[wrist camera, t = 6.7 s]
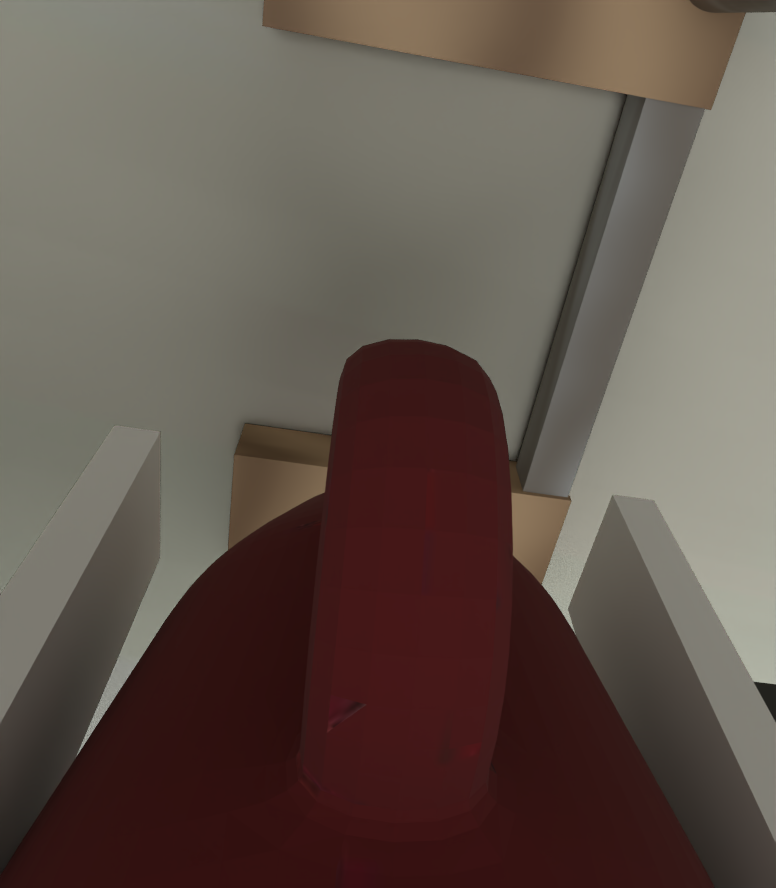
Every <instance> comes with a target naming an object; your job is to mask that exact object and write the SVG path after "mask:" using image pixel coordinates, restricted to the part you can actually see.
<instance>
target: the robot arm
mask: <svg viewBox="0 0 776 888" xmlns="http://www.w3.org/2000/svg"><path fill="white" fill-rule="evenodd" d="M160 471H161V431H154V430H146V429H139V428H132V427H125V426H118V425H114V426H113V428H112V429H111V431H110V432H109V434H108V435H107V437H106V438H105V440H104V441H103V443H102V444H101V446H100V447H99V449H98V450H97V452H96V453H95V455H94V456H93V458H92V459H91V461H90V462H89V464H88V465H87V467H86V468H85V470H84V471H83V473H82V474H81V476H80V477H79V478H78V480H77V481H76V483H75V484H74V486H73V487H72V489H71V490H70V492H69V493H68V495H67V496H66V498H65V499H64V501H63V502H62V504H61V505H60V507H59V508H58V510H57V511H56V513H55V514H54V516H53V517H52V519H51V520H50V522H49V523H48V525H47V526H46V528H45V529H44V531H43V532H42V534H41V535H40V537H39V538H38V540H37V541H36V542H35V544H34V545H33V547H32V548H31V550H30V551H29V553H28V554H27V556H26V557H25V559H24V560H23V562H22V563H21V565H20V566H19V568H18V569H17V571H16V572H15V574H14V575H13V577H12V578H11V580H10V581H9V583H8V584H7V586H6V587H5V589H4V590H3V592H2V593H1V594H0V875H1V873H2V872H3V870H4V868H5V867H6V865H7V864H8V862H9V860H10V859H11V857H12V856H13V854H14V852H15V851H16V849H17V848H18V846H19V844H20V843H21V841H22V840H23V838H24V837H25V835H26V834H27V832H28V831H29V829H30V828H31V826H32V824H33V823H34V821H35V820H36V818H37V817H38V815H39V814H40V812H41V811H42V809H43V808H44V806H45V805H46V803H47V801H48V800H49V798H50V797H51V795H52V794H53V792H54V791H55V789H56V788H57V786H58V785H59V783H60V781H61V780H62V778H63V777H64V775H65V774H66V772H67V771H68V769H69V768H70V766H71V765H72V763H73V762H74V760H75V758H76V756H77V753H78V751H79V748H80V746H81V744H82V741H83V739H84V737H85V734H86V732H87V729H88V727H89V725H90V722H91V720H92V718H93V715H94V713H95V711H96V708H97V706H98V703H99V701H100V699H101V696H102V694H103V692H104V689H105V687H106V684H107V682H108V680H109V677H110V675H111V673H112V670H113V668H114V666H115V663H116V661H117V658H118V656H119V654H120V651H121V649H122V647H123V644H124V642H125V640H126V637H127V635H128V632H129V630H130V628H131V625H132V623H133V621H134V618H135V616H136V613H137V611H138V609H139V606H140V604H141V602H142V599H143V597H144V595H145V592H146V590H147V587H148V585H149V583H150V580H151V578H152V576H153V573H154V571H155V568H156V566H157V564H158V561H159V559H160ZM568 611H569V614H570V617H571V620H572V624H573V627H574V630H575V634H576V637H577V639H578V640H579V642H580V644H581V646H582V648H583V649H584V651H585V653H586V655H587V657H588V658H589V660H590V662H591V664H592V666H593V668H594V669H595V671H596V673H597V675H598V677H599V678H600V680H601V682H602V684H603V686H604V687H605V689H606V691H607V693H608V695H609V696H610V698H611V700H612V702H613V704H614V705H615V707H616V709H617V711H618V713H619V714H620V716H621V718H622V720H623V722H624V723H625V725H626V727H627V729H628V731H629V732H630V734H631V736H632V738H633V740H634V741H635V743H636V745H637V747H638V749H639V750H640V752H641V754H642V756H643V758H644V759H645V761H646V763H647V765H648V767H649V768H650V770H651V772H652V774H653V776H654V778H655V779H656V781H657V783H658V785H659V787H660V788H661V790H662V792H663V794H664V796H665V797H666V799H667V801H668V803H669V805H670V806H671V808H672V810H673V812H674V814H675V815H676V817H677V819H678V821H679V823H680V824H681V826H682V828H683V830H684V832H685V833H686V835H687V837H688V839H689V841H690V842H691V844H692V846H693V848H694V850H695V851H696V853H697V855H698V857H699V859H700V860H701V862H702V864H703V866H704V868H705V870H706V872H707V874H708V875H709V877H710V879H711V881H712V883H713V885H714V887H715V888H776V684H767V683H759V682H753V680H752V678H751V676H750V675H749V673H748V671H747V669H746V667H745V666H744V664H743V662H742V660H741V658H740V656H739V655H738V653H737V651H736V649H735V647H734V645H733V644H732V642H731V640H730V638H729V636H728V635H727V633H726V631H725V629H724V627H723V625H722V624H721V622H720V620H719V618H718V616H717V614H716V613H715V611H714V609H713V607H712V605H711V604H710V602H709V600H708V598H707V596H706V594H705V593H704V591H703V589H702V587H701V585H700V583H699V582H698V580H697V578H696V576H695V574H694V573H693V571H692V569H691V567H690V565H689V563H688V562H687V560H686V558H685V556H684V554H683V552H682V551H681V549H680V547H679V545H678V543H677V542H676V540H675V538H674V536H673V534H672V532H671V531H670V529H669V527H668V525H667V523H666V521H665V520H664V518H663V516H662V514H661V512H660V510H659V509H658V507H657V505H656V503H655V501H654V500H648V499H640V498H633V497H626V496H619V495H612V498H611V500H610V503H609V505H608V508H607V510H606V513H605V515H604V518H603V521H602V523H601V526H600V528H599V531H598V533H597V536H596V538H595V541H594V544H593V546H592V549H591V551H590V554H589V556H588V559H587V562H586V564H585V567H584V569H583V572H582V574H581V577H580V579H579V582H578V585H577V587H576V590H575V592H574V595H573V597H572V600H571V602H570V605H569V608H568Z"/></svg>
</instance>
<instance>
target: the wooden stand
mask: <svg viewBox="0 0 776 888" xmlns="http://www.w3.org/2000/svg"><path fill="white" fill-rule="evenodd" d="M746 12H776V0H264V10H263V25H262V26H265V27H271V28H276V29H281V30H287V31H292V32H298V33H303V34H308V35H314V36H319V37H324V38H330V39H335V40H340V41H346V42H351V43H356V44H362V45H367V46H372V47H378V48H383V49H388V50H394V51H399V52H404V53H410V54H415V55H420V56H426V57H431V58H436V59H442V60H447V61H453V62H458V63H463V64H469V65H474V66H479V67H485V68H490V69H495V70H501V71H506V72H511V73H517V74H522V75H527V76H533V77H538V78H543V79H549V80H554V81H559V82H565V83H570V84H575V85H581V86H586V87H591V88H597V89H602V90H608V91H613V92H618V93H624V94H628V95H627V98H626V102H625V105H624V108H623V112H622V115H621V118H620V122H619V125H618V128H617V132H616V135H615V138H614V141H613V145H612V148H611V151H610V155H609V158H608V161H607V165H606V168H605V171H604V175H603V178H602V181H601V185H600V188H599V191H598V195H597V198H596V201H595V205H594V208H593V211H592V215H591V218H590V221H589V225H588V228H587V231H586V235H585V238H584V241H583V245H582V248H581V251H580V255H579V258H578V261H577V265H576V268H575V271H574V275H573V278H572V281H571V284H570V288H569V291H568V294H567V298H566V301H565V304H564V308H563V311H562V314H561V318H560V321H559V324H558V328H557V331H556V334H555V338H554V341H553V344H552V348H551V351H550V354H549V358H548V361H547V364H546V368H545V371H544V374H543V378H542V381H541V384H540V388H539V391H538V394H537V398H536V401H535V404H534V408H533V411H532V414H531V417H530V421H529V424H528V427H527V431H526V434H525V437H524V441H523V444H522V447H521V451H520V454H519V457H518V461H517V462H515V461H509V468H510V480H511V492H512V527H513V556H514V557H515V558H516V559H517V560H518V561H519V562H520V563H521V564H522V565H523V566H524V567H526V568H527V569H528V570H529V571H530V572H531V573H532V574H533V576H534V577H535V578H536V579H537V580H538V581H539V583H540V584H542V582H543V579H544V576H545V573H546V570H547V568H548V565H549V562H550V559H551V556H552V554H553V551H554V548H555V545H556V542H557V540H558V537H559V534H560V531H561V528H562V526H563V523H564V520H565V517H566V514H567V512H568V509H569V506H570V503H571V499H570V496H569V493H570V490H571V487H572V484H573V481H574V478H575V476H576V473H577V470H578V467H579V464H580V461H581V459H582V456H583V453H584V450H585V447H586V444H587V442H588V439H589V436H590V433H591V430H592V427H593V425H594V422H595V419H596V416H597V413H598V411H599V408H600V405H601V402H602V399H603V396H604V394H605V391H606V388H607V385H608V382H609V379H610V377H611V374H612V371H613V368H614V365H615V362H616V360H617V357H618V354H619V351H620V348H621V345H622V343H623V340H624V337H625V334H626V331H627V328H628V326H629V323H630V320H631V317H632V314H633V311H634V309H635V306H636V303H637V300H638V297H639V294H640V292H641V289H642V286H643V283H644V280H645V277H646V275H647V272H648V269H649V266H650V263H651V260H652V258H653V255H654V252H655V249H656V246H657V243H658V241H659V238H660V235H661V232H662V229H663V226H664V224H665V221H666V218H667V215H668V212H669V209H670V207H671V204H672V201H673V198H674V195H675V192H676V190H677V187H678V184H679V181H680V178H681V175H682V173H683V170H684V167H685V164H686V161H687V158H688V156H689V153H690V150H691V147H692V144H693V141H694V139H695V136H696V133H697V130H698V127H699V124H700V122H701V119H702V116H703V113H704V110H705V109H709V110H711V109H712V106H713V103H714V100H715V97H716V95H717V92H718V89H719V86H720V83H721V81H722V78H723V75H724V72H725V69H726V67H727V64H728V61H729V58H730V55H731V53H732V50H733V47H734V44H735V41H736V39H737V36H738V33H739V30H740V27H741V25H742V22H743V19H744V16H745V13H746ZM330 444H331V435H324V434H317V433H309V432H302V431H295V430H288V429H281V428H274V427H267V426H260V425H253V424H246V423H245V425H244V428H243V431H242V434H241V437H240V439H239V442H238V445H237V448H236V451H235V454H234V466H233V481H232V496H231V511H230V526H229V542H228V550H229V549H231V548H232V547H233V546H234V545H235V544H237V543H238V542H239V541H241V540H242V539H244V538H245V537H247V536H248V535H250V534H251V533H253V532H254V531H256V530H257V529H259V528H260V527H262V526H263V525H265V524H266V523H268V522H269V521H271V520H273V519H275V518H276V517H278V516H280V515H282V514H284V513H285V512H287V511H289V510H291V509H292V508H294V507H296V506H298V505H300V504H301V503H303V502H305V501H307V500H309V499H311V498H313V497H315V496H317V495H320V494H322V493H325V486H326V477H327V469H328V460H329V452H330Z"/></svg>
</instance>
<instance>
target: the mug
mask: <svg viewBox="0 0 776 888" xmlns="http://www.w3.org/2000/svg"><path fill="white" fill-rule="evenodd" d="M0 888H715V887H714V885H713V883H712V881H711V879H710V877H709V875H708V874H707V872H706V870H705V868H704V866H703V864H702V862H701V860H700V859H699V857H698V855H697V853H696V851H695V850H694V848H693V846H692V844H691V842H690V841H689V839H688V837H687V835H686V833H685V832H684V830H683V828H682V826H681V824H680V823H679V821H678V819H677V817H676V815H675V814H674V812H673V810H672V808H671V806H670V805H669V803H668V801H667V799H666V797H665V796H664V794H663V792H662V790H661V788H660V787H659V785H658V783H657V781H656V779H655V778H654V776H653V774H652V772H651V770H650V768H649V767H648V765H647V763H646V761H645V759H644V758H643V756H642V754H641V752H640V750H639V749H638V747H637V745H636V743H635V741H634V740H633V738H632V736H631V734H630V732H629V731H628V729H627V727H626V725H625V723H624V722H623V720H622V718H621V716H620V714H619V713H618V711H617V709H616V707H615V705H614V704H613V702H612V700H611V698H610V696H609V695H608V693H607V691H606V689H605V687H604V686H603V684H602V682H601V680H600V678H599V677H598V675H597V673H596V671H595V669H594V668H593V666H592V664H591V662H590V660H589V658H588V657H587V655H586V653H585V651H584V649H583V648H582V646H581V644H580V642H579V640H578V639H577V637H576V635H575V633H574V631H573V630H572V628H571V627H570V625H569V623H568V622H567V620H566V619H565V617H564V615H563V614H562V612H561V611H560V609H559V608H558V606H557V605H556V603H555V602H554V600H553V599H552V597H551V596H550V595H549V594H548V592H547V591H546V590H545V589H544V587H543V586H542V585H541V584H540V583H539V581H538V580H537V579H536V578H535V577H534V576H533V574H532V573H531V572H530V571H529V570H528V569H527V568H526V567H524V566H523V565H522V564H521V563H520V562H519V561H518V560H517V559H516V558H515V557H514V556H513V527H512V492H511V480H510V468H509V455H508V446H507V439H506V433H505V426H504V420H503V414H502V410H501V407H500V403H499V400H498V396H497V392H496V390H495V388H494V386H493V384H492V382H491V380H490V378H489V377H488V375H487V374H486V373H485V371H484V370H483V369H482V368H481V366H480V365H479V364H478V362H477V361H476V360H474V359H472V358H470V357H468V356H466V355H464V354H462V353H460V352H458V351H456V350H454V349H452V348H450V347H448V346H446V345H441V344H436V343H432V342H427V341H422V340H398V339H388V340H384V341H380V342H376V343H373V344H369V345H365V346H362V347H361V348H360V349H359V350H357V351H356V352H355V353H354V354H353V355H351V356H350V357H349V358H348V359H347V360H346V363H345V366H344V368H343V371H342V374H341V377H340V381H339V386H338V392H337V399H336V406H335V413H334V420H333V428H332V436H331V444H330V452H329V460H328V469H327V477H326V486H325V493H322V494H320V495H317V496H315V497H313V498H311V499H309V500H307V501H305V502H303V503H301V504H300V505H298V506H296V507H294V508H292V509H291V510H289V511H287V512H285V513H284V514H282V515H280V516H278V517H276V518H275V519H273V520H271V521H269V522H268V523H266V524H265V525H263V526H262V527H260V528H259V529H257V530H256V531H254V532H253V533H251V534H250V535H248V536H247V537H245V538H244V539H242V540H241V541H239V542H238V543H237V544H235V545H234V546H233V547H232V548H231V549H229V550H228V551H227V552H226V553H224V554H223V555H222V556H221V557H220V558H218V559H217V560H216V561H215V562H214V563H213V564H212V565H211V566H210V567H209V568H208V569H207V570H206V571H205V572H204V573H203V574H202V575H201V576H200V577H199V578H198V579H197V580H196V581H195V582H194V583H193V584H192V586H191V587H190V588H189V589H188V590H187V592H186V593H185V594H184V596H183V597H182V598H181V599H180V601H179V602H178V604H177V605H176V606H175V608H174V609H173V610H172V612H171V613H170V615H169V616H168V617H167V619H166V620H165V622H164V623H163V625H162V626H161V628H160V629H159V631H158V633H157V634H156V636H155V637H154V639H153V640H152V642H151V643H150V645H149V646H148V648H147V649H146V651H145V653H144V654H143V656H142V657H141V659H140V660H139V662H138V663H137V665H136V666H135V668H134V669H133V671H132V672H131V674H130V676H129V677H128V679H127V680H126V682H125V683H124V685H123V686H122V688H121V689H120V691H119V692H118V694H117V695H116V697H115V699H114V700H113V702H112V703H111V705H110V706H109V708H108V709H107V711H106V712H105V714H104V715H103V717H102V719H101V720H100V722H99V723H98V725H97V726H96V728H95V729H94V731H93V732H92V734H91V735H90V737H89V738H88V740H87V742H86V743H85V745H84V746H83V748H82V749H81V751H80V752H79V754H78V755H77V757H76V758H75V760H74V762H73V763H72V765H71V766H70V768H69V769H68V771H67V772H66V774H65V775H64V777H63V778H62V780H61V781H60V783H59V785H58V786H57V788H56V789H55V791H54V792H53V794H52V795H51V797H50V798H49V800H48V801H47V803H46V805H45V806H44V808H43V809H42V811H41V812H40V814H39V815H38V817H37V818H36V820H35V821H34V823H33V824H32V826H31V828H30V829H29V831H28V832H27V834H26V835H25V837H24V838H23V840H22V841H21V843H20V844H19V846H18V848H17V849H16V851H15V852H14V854H13V856H12V857H11V859H10V860H9V862H8V864H7V865H6V867H5V868H4V870H3V872H2V873H1V875H0Z"/></svg>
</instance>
